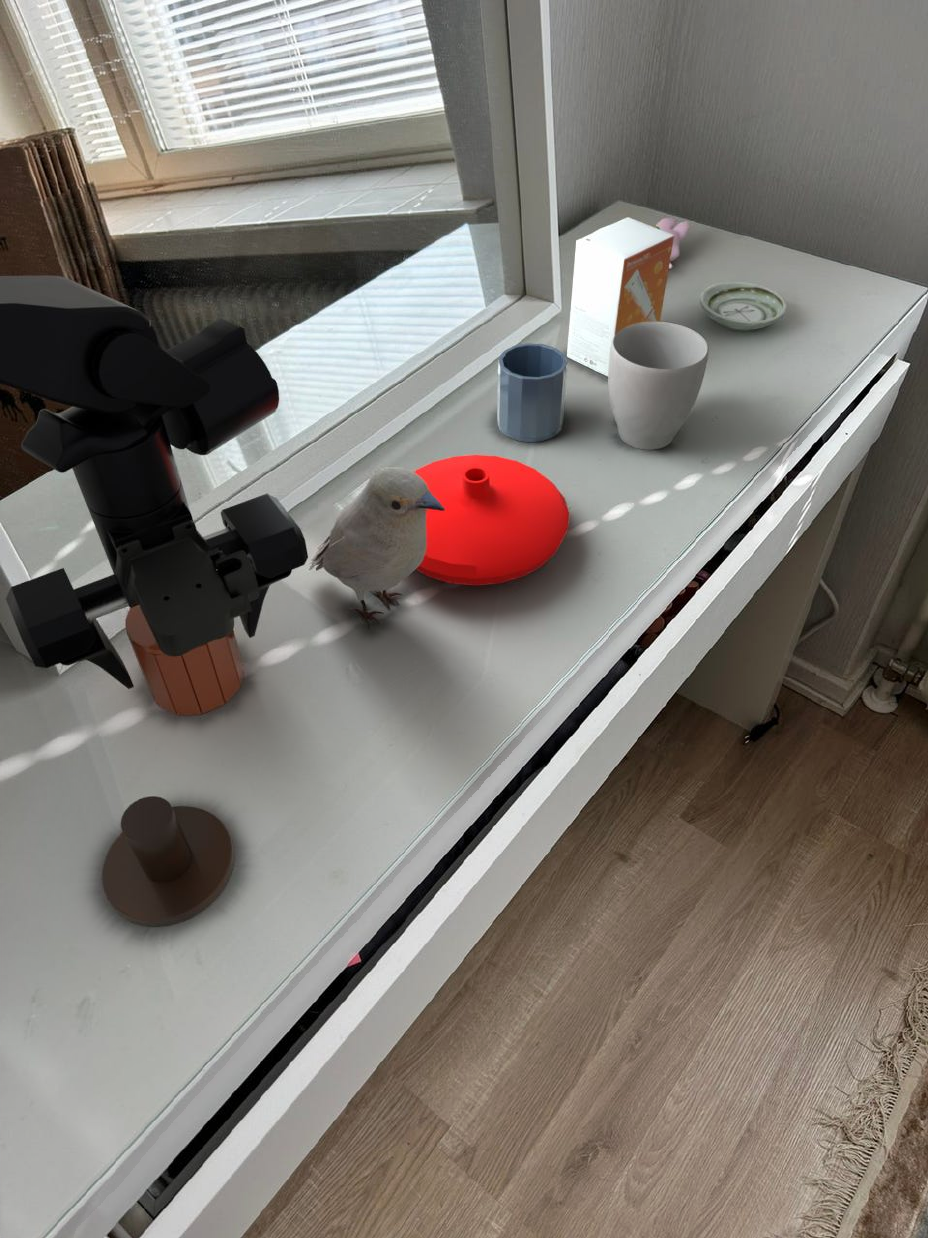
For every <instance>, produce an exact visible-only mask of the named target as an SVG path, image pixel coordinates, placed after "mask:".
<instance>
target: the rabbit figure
mask: <svg viewBox="0 0 928 1238" xmlns="http://www.w3.org/2000/svg"><path fill="white" fill-rule="evenodd" d="M677 222H678V220H677V219H675V218H673V217H665V218H662V219H660V220H659V221H658V222H657V223H656V225H654V227H655V228H657V229H660V230H662V231H665V232H667V233H670V234H672V235H674V239H673V246H672V252H671V258H670V264H669V270H671V269H672V268H673V264H672V263H671V262H673V261H674V260H676V259H677V258H679V256H680V254H681V253H680V242H681V241H682V240H683V239H685V237H687V235H688V233H689V230H690V228H691V223H690V221H681V222H679V223H678V224H676V223H677Z"/></svg>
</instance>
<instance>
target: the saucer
mask: <svg viewBox="0 0 928 1238" xmlns="http://www.w3.org/2000/svg"><path fill="white" fill-rule="evenodd" d="M699 296H700V297H699V304H700V307H701V309H702V310H703V311H704V312H705V313H706V314H707V315H708V316H709V317H710V318H711V319H712V320H713V321H715V322H716V323H718V324H719V325H721V326H723V327H725V328H727V329H729V330H734V331H739V332H748V331H753V330H757V329H762V328H765V327H768V326H770V325H772V324H775V323H776V322H779V321H780V320H781V319H782V318H783V317H784V316H785V315H786V314H787V310H788V304H787V301H786V300H785V298H784V297H783V296H782V295H781V294H780V293H778V292H777V291H775V290H774V289H772V288H769V287H766V286H764V285H760V284H756V283H753V282H746V281H725V282H719V283H715V284H712V285H710V286H708V287H706V288H705V289H704V290H703V291H702V292H701V294H700V295H699Z"/></svg>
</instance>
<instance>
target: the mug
mask: <svg viewBox="0 0 928 1238" xmlns="http://www.w3.org/2000/svg"><path fill="white" fill-rule="evenodd" d="M708 359H709V346H708V343H707V341H706V340H705V339H704V338H703V337H702V335H701V334H699V333H698V332H697V331H695V330H693V329H691V328H689V327H687V326H684V325H681V324H677V323H673V322H667V321H660V322H641V323H636V324H632V325H629V326H627V327H625V328H623V329H621V330H620V331H619V332H618V333H617V334H616V335H615V336H614V337H613V339H612V342H611V347H610V355H609V369H608V377H607V382H608V384H607V385H608V386H607V387H608V396H609V403H610V407H611V411H612V415H613V419H614V421H615V424H616V427H617V430H618V436H619V438H620V439H621V440H622V441H623V442H624V443H625V444H627V445H628V446H630V447H633V448H636V449H641V450H646V451H649V450H653V451H654V450H658V449H663V448H665V447H667V446H668V445H670V444H671V443H672V442H673V439H674V437H675V436H676V434H677V432H678V431H679V430H680V429H681V427H682V426H683V425H684V423H685V422H686V420H687V419H688V418H689V415H690V414H691V412H692V410H693V408H694V405H695V403H696V401H697V398H698V396H699V393H700V391H701V387H702V384H703V381H704V377H705V373H706V369H707V364H708Z"/></svg>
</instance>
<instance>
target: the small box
mask: <svg viewBox="0 0 928 1238" xmlns="http://www.w3.org/2000/svg"><path fill="white" fill-rule="evenodd" d="M673 239H674V235H672V234H670V233H667V232H665V231H662V230H660V229H657V228H655V226H651V225H649V224H647V223H644V222H642V221H640V220H636V219H634V218H631V217H629V216H628V217H625V218H622V219H621V220H618V221H615V222H613V223H611V224H609V225H606V226H603V227H601V228H599V229H597V230H595V231H594V232H592V233H590V234H587V235H586V236H583V237H581V238H579V239H576V242H575V253H574V265H573V277H572V290H571V302H570V314H569V323H568V325H569V327H568V336H567V337H568V338H567V349H566V358H568V359H570V360H572V361H574V362H577V363H578V364H581V365H582V366H584V367H587V368H589V369H591V370H593V371H595V372H597V373H599V374H601V375H603V376H605V377H607V378H608V369H609V355H610V347H611V342H612V339H613V337H614V336H615V335H616V334H617V333H618V332H619V331H620V330H621V329H623V328H625V327H627V326H629V325H632V324H636V323H641V322H661V318H662V312H663V307H664V300H665V294H666V289H667V281H668V277H669V276H668V275H669V270H670V269H669V264H670V263H671V261H670V258H671V252H672V246H673Z"/></svg>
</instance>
